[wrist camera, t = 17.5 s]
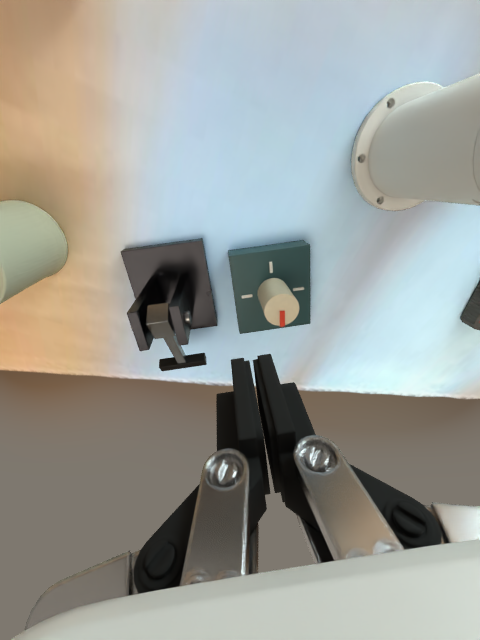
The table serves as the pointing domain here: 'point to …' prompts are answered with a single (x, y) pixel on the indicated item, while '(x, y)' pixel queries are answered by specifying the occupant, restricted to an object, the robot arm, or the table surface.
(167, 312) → the lever
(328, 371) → the table surface
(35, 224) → the can
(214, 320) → the pivoting lever stand
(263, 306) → the dial
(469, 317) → the walkie-talkie
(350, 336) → the table surface
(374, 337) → the table surface
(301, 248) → the dial panel
